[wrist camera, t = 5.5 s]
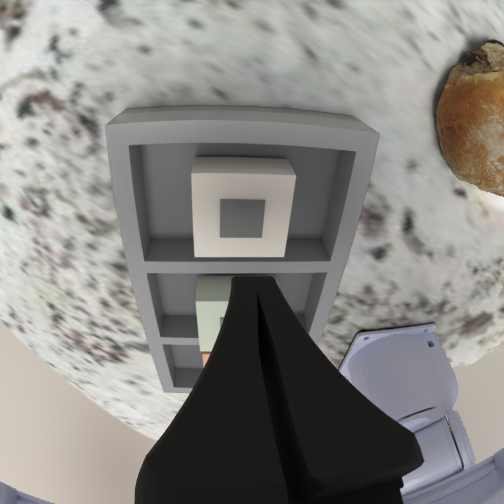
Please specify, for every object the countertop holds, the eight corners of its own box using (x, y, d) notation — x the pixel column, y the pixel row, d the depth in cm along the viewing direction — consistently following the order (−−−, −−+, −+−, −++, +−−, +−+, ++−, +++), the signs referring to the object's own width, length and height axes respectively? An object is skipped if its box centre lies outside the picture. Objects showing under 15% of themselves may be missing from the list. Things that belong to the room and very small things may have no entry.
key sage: (277, 275, 18) (282, 302, 16) (269, 325, 21) (272, 351, 19) (197, 275, 18) (195, 302, 16) (201, 326, 20) (200, 352, 19)
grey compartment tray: (354, 116, 15) (379, 134, 13) (295, 360, 29) (300, 389, 26) (125, 109, 14) (105, 125, 12) (166, 362, 27) (164, 392, 25)
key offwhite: (287, 159, 15) (296, 176, 13) (278, 234, 18) (284, 258, 16) (194, 157, 15) (191, 174, 13) (196, 234, 17) (194, 258, 16)
